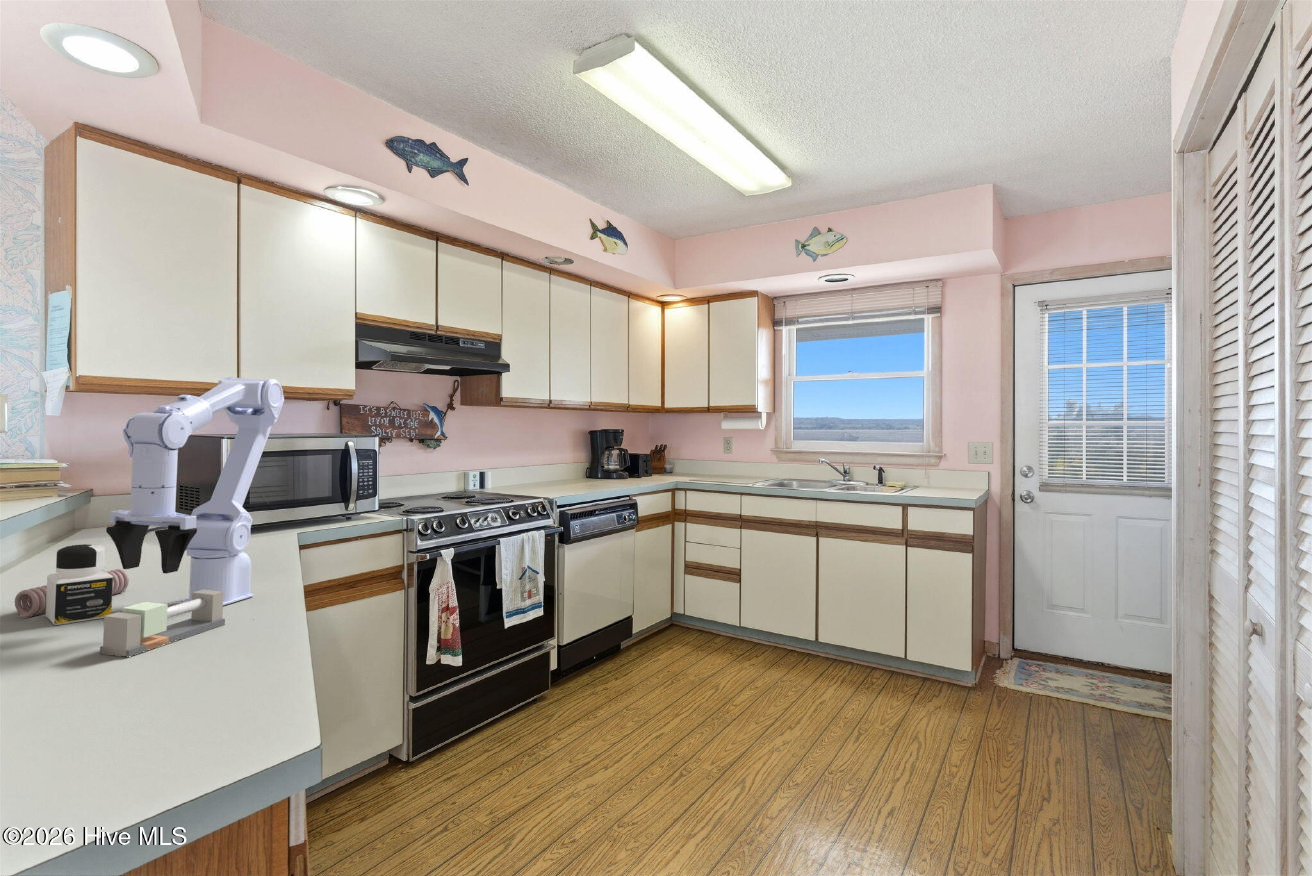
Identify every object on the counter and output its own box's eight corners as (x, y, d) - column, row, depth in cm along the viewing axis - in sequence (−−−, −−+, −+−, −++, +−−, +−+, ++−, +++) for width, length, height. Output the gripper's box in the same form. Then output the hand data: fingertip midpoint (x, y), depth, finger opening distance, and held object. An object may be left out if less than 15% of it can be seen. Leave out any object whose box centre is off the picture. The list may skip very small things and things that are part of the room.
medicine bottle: (54, 626, 100) (57, 551, 100) (45, 616, 104) (48, 545, 104) (111, 617, 106) (115, 546, 106) (101, 608, 110) (104, 540, 110)
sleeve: (144, 627, 96) (145, 601, 96) (166, 630, 95) (167, 604, 95) (121, 634, 92) (122, 607, 92) (143, 637, 91) (145, 610, 91)
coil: (35, 593, 103) (135, 570, 121) (10, 588, 103) (113, 566, 121) (31, 621, 103) (132, 593, 121) (6, 616, 103) (110, 589, 121)
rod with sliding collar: (199, 621, 105) (200, 589, 105) (224, 624, 105) (226, 592, 105) (99, 653, 90) (101, 615, 90) (128, 657, 89) (130, 619, 89)
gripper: (91, 485, 98) (87, 571, 99) (168, 491, 96) (164, 579, 96) (135, 482, 105) (131, 562, 106) (209, 488, 103) (205, 570, 103)
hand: (150, 570), depth 101 cm, fingers open, 7 cm apart
